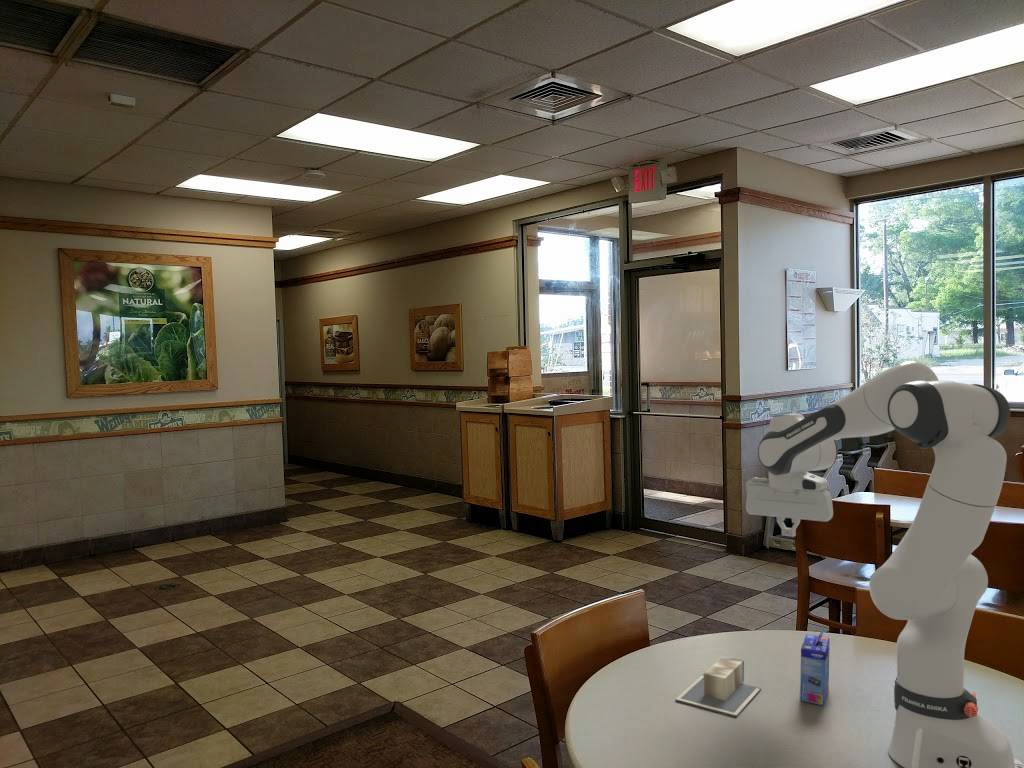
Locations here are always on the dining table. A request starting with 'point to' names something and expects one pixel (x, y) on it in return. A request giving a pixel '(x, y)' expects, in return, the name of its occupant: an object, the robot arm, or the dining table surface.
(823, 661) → the ink cartridge box
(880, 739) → the dining table surface
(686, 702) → the rubber mat
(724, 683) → the birch block
